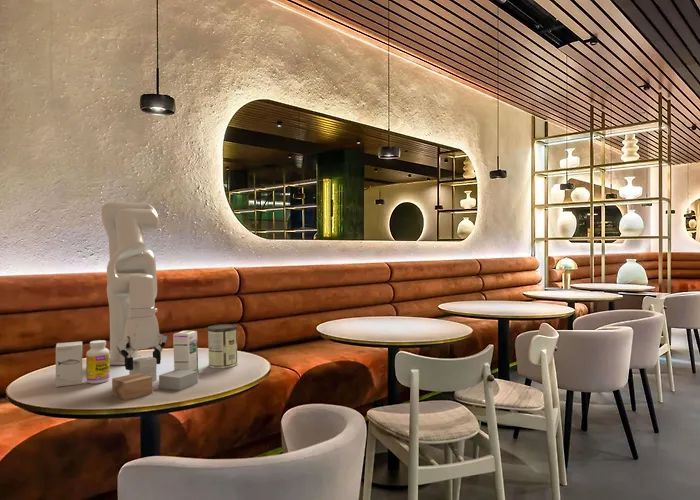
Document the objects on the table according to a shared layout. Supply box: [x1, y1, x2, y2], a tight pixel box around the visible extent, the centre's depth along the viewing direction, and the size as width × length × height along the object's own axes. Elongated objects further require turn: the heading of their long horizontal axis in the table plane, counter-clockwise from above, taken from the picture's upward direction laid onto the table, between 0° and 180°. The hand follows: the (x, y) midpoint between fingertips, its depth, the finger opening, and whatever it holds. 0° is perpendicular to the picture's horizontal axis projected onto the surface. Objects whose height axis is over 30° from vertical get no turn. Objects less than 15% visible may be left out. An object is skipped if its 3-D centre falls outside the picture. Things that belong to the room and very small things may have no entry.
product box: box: [128, 355, 158, 382], centre depth 157 cm, size 6×6×7 cm
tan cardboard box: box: [111, 373, 153, 401], centre depth 143 cm, size 8×8×5 cm
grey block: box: [158, 369, 199, 391], centre depth 152 cm, size 8×8×4 cm
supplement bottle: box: [85, 339, 111, 384], centre depth 157 cm, size 7×7×13 cm
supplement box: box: [55, 341, 83, 388], centre depth 155 cm, size 7×7×13 cm
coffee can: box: [207, 323, 238, 369], centre depth 177 cm, size 10×10×14 cm
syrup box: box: [172, 330, 199, 372], centre depth 164 cm, size 6×6×14 cm
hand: (143, 366), depth 157 cm, fingers open, 9 cm apart
